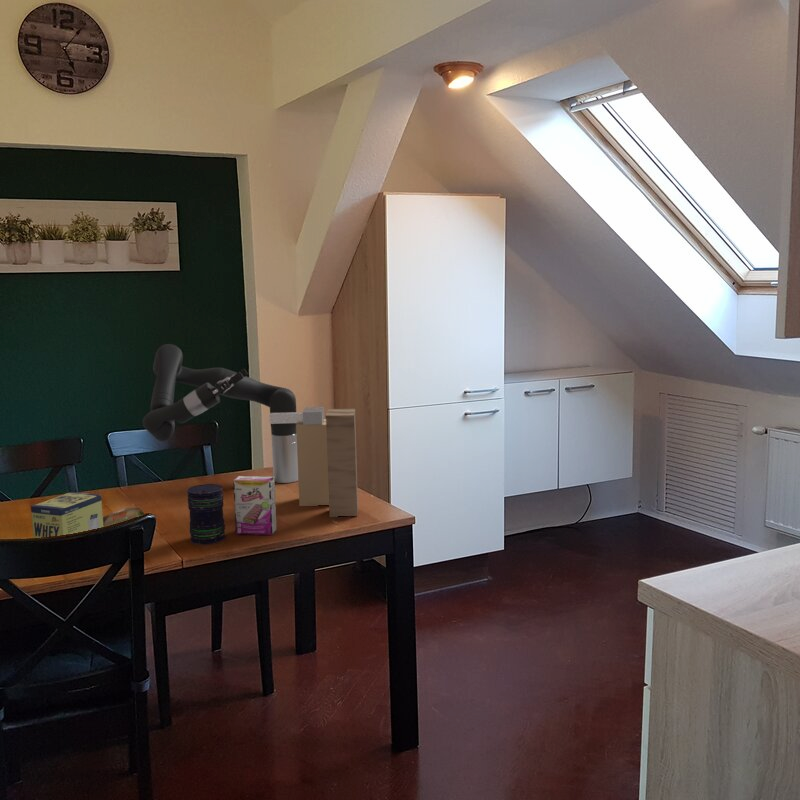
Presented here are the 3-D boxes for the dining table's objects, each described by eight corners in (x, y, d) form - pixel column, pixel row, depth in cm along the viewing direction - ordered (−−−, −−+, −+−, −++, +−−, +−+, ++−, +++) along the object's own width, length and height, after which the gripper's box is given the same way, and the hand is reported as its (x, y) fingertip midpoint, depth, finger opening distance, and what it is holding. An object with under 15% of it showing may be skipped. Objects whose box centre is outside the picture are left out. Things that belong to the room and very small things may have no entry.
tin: (105, 547, 234) (102, 518, 232) (97, 545, 235) (95, 516, 234) (147, 532, 246) (145, 504, 245) (139, 530, 248) (137, 503, 246)
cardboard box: (302, 497, 279) (299, 419, 275) (338, 496, 279) (335, 418, 275) (299, 506, 269) (296, 425, 265) (336, 505, 269) (333, 424, 265)
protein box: (34, 562, 222) (29, 505, 220) (77, 544, 237) (72, 490, 234) (65, 566, 219) (60, 509, 216) (106, 547, 233) (102, 493, 230)
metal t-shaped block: (272, 420, 275) (271, 408, 274) (324, 418, 275) (323, 406, 274) (268, 425, 265) (267, 413, 264) (322, 424, 265) (321, 412, 264)
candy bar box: (235, 535, 241) (232, 479, 239) (240, 529, 246) (237, 475, 244) (273, 535, 240) (270, 480, 238) (277, 530, 245) (274, 475, 243)
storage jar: (193, 534, 243) (189, 484, 240) (227, 533, 243) (224, 483, 241) (187, 546, 233) (184, 494, 230) (223, 544, 234) (220, 492, 231)
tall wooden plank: (331, 508, 266) (328, 409, 261) (358, 507, 267) (355, 408, 261) (329, 519, 255) (325, 415, 249) (357, 518, 255) (354, 415, 250)
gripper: (212, 405, 276) (253, 380, 275) (203, 413, 262) (247, 386, 260) (199, 386, 274) (241, 360, 273) (189, 392, 260) (233, 365, 259)
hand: (244, 373), depth 267 cm, fingers open, 8 cm apart
